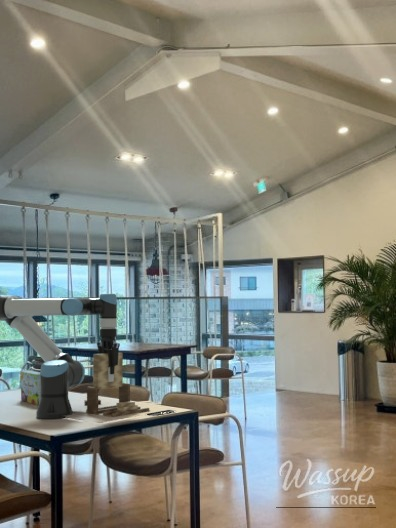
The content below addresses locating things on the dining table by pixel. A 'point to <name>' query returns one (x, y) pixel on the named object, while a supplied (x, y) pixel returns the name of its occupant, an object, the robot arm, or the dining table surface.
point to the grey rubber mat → (160, 412)
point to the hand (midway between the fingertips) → (108, 381)
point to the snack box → (31, 386)
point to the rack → (109, 410)
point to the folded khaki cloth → (106, 371)
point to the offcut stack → (126, 406)
